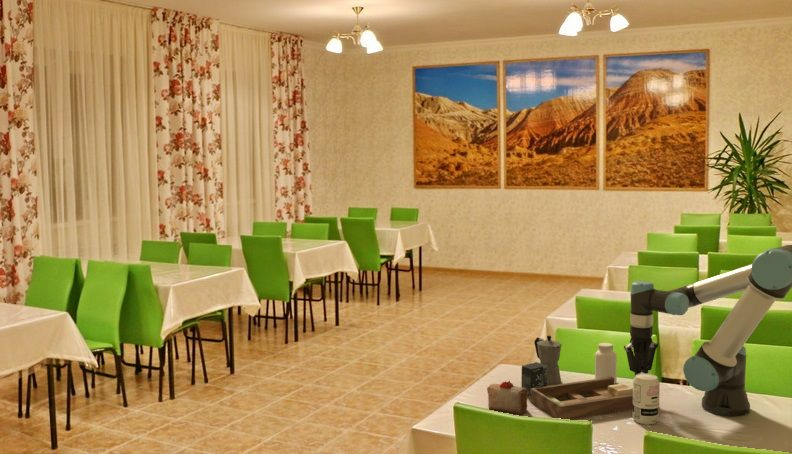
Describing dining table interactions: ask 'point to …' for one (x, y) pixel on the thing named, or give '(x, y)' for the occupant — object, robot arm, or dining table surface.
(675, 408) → the dining table surface
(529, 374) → the box
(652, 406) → the supplement can
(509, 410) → the food item
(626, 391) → the block
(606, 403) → the divided wooden tray
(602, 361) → the pill bottle
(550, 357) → the coffeepot
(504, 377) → the dining table surface
